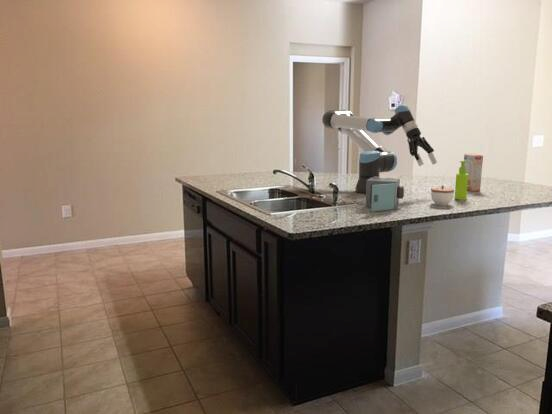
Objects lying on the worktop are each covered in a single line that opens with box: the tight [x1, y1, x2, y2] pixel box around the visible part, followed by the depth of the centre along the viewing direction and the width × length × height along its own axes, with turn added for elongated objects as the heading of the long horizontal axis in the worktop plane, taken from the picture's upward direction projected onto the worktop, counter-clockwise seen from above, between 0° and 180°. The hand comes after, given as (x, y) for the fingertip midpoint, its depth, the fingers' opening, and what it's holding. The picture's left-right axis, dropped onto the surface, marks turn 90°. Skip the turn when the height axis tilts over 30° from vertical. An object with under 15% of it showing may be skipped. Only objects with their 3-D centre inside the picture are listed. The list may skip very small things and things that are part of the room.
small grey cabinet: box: [365, 176, 405, 208], centre depth 228 cm, size 12×17×14 cm
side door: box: [370, 183, 397, 212], centre depth 217 cm, size 2×14×12 cm, turn 118°
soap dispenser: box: [454, 160, 471, 200], centre depth 248 cm, size 6×7×20 cm
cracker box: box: [463, 153, 484, 192], centre depth 278 cm, size 14×6×21 cm, turn 179°
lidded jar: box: [430, 185, 455, 206], centre depth 233 cm, size 11×11×9 cm
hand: (428, 164), depth 256 cm, fingers open, 13 cm apart
